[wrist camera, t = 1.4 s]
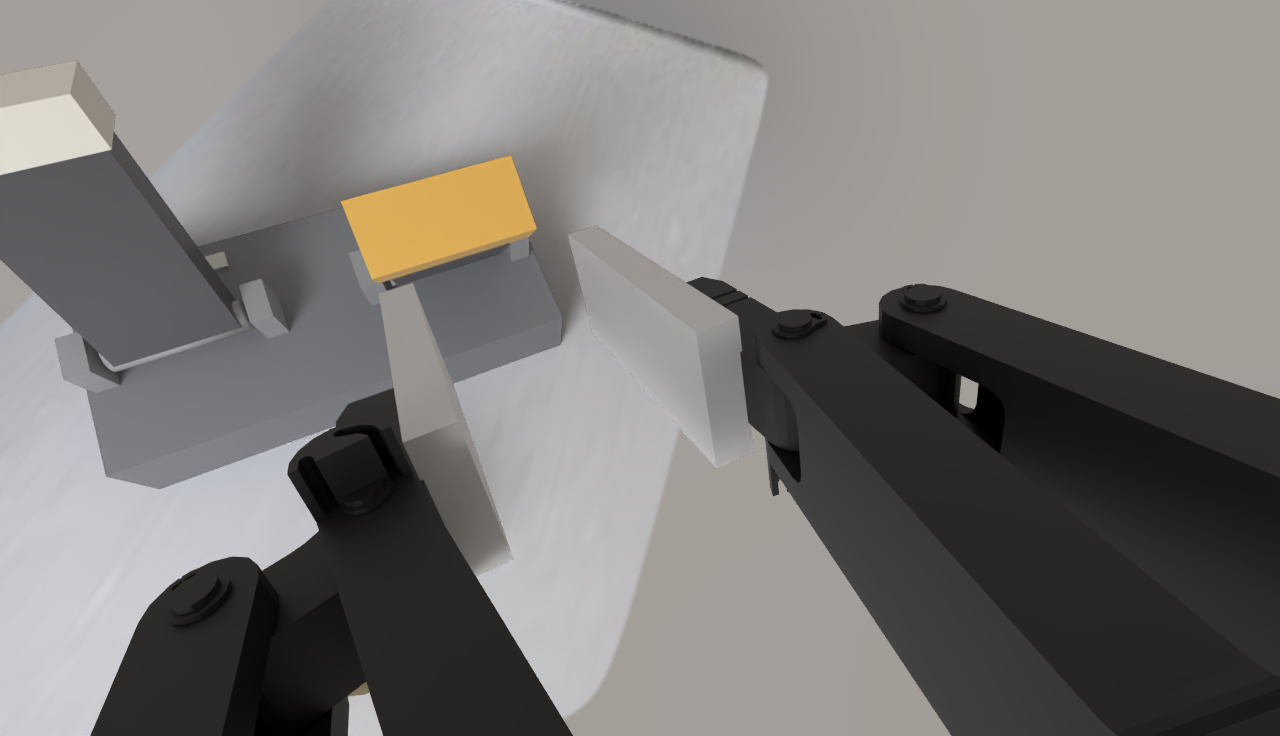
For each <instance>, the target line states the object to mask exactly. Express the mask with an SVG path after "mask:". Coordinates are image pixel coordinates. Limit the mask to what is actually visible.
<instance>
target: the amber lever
mask: <svg viewBox="0 0 1280 736" xmlns="http://www.w3.org/2000/svg"><path fill="white" fill-rule="evenodd" d="M341 203H342V206H343V208H344V211H345V213H346V216H347V218H348V221H349V223H350V226H351V228H352V231H353V233H354V236H355V238H356V241H357V243H358V246H359V248H360V251H361V253H362V256H363V258H364V261H365V263H366V266H367V268H368V271H369V273H370V276H371V279H372V280H374V281H375V282H376V283H381V282H385V281H388V280H390V282H391V284H392V286H394V285H398V286H399V285H403V284H406V283H409V282H412V281H415V280H419V279H422V278H425V277H428V276H431V275H435V274H438V273H441V272H444V271H448V270H451V269H454V268H457V267H460V266H464V265H467V264H470V263H473V262H476V261H480V260H483V259H486V258H489V257H492V256H496V255H499V254H500V252H503V248H504V247H505V245H506V244H508V243H511V242H514V241H518V240H521V239H524V238H527V237H530V236H531V235H532V234H533V233H534V231H535V230H536V229H537V228H536V225H535V222H534V219H533V216H532V214H531V211H530V208H529V205H528V202H527V199H526V196H525V194H524V191H523V188H522V185H521V182H520V179H519V177H518V174H517V171H516V168H515V165H514V162H513V159H512V157H511V155H510V156H506V157H502V158H499V159H495V160H491V161H488V162H484V163H480V164H477V165H473V166H469V167H465V168H462V169H458V170H454V171H451V172H447V173H443V174H440V175H436V176H432V177H428V178H425V179H421V180H417V181H414V182H410V183H406V184H403V185H399V186H395V187H391V188H388V189H384V190H380V191H377V192H373V193H369V194H366V195H362V196H358V197H354V198H351V199H347V200H343V201H341Z"/></svg>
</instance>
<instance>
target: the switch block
mask: <svg viewBox="0 0 1280 736" xmlns="http://www.w3.org/2000/svg"><path fill="white" fill-rule="evenodd" d="M198 249H199V250H200V251H201V253H202V254H203V255H204V257H205V258H206V260H207V261H208V262H209V264H210V265H211V267H212V268H213V269H214V271H215V272H216V273H217V275H218V276H219V278H220V279H221V280H222V282H223V283H224V285H225V286H226V287H227V289H228V290H229V291H230V293H231V294H232V296H233V297H234V298H235V300H241V301H243V303H244V304H245V308H246V311H247V314H248V318H249V321H250V323H251V324H252V325H253V326H254V329H252V330H249V331H246V332H243V333H240V334H236V335H233V336H230V337H227V338H224V339H220V340H217V341H214V342H211V343H207V344H204V345H201V346H198V347H195V348H191V349H188V350H185V351H182V352H179V353H175V354H172V355H169V356H166V357H162V358H159V359H156V360H153V361H150V362H146V363H143V364H140V365H137V366H133V367H130V368H127V369H124V370H121V371H117V372H113V371H111V370H110V369H109V368H107V367H106V365H105V364H104V363H103V361H102V360H101V358H100V356H99V353H98V352H97V351H96V350H95V349H94V348H93V347H92V346H91V345H90V344H89V343H88V342H87V341H86V340H85V339H84V338H83V337H82V336H81V335H80V334H79V333H77V332H76V331H75V330H74V329H73V333H74V334H70V335H67V336H63V337H60V338H56V339H55V342H56V347H57V352H58V356H59V361H60V365H61V370H62V374H63V379H64V380H65V381H68V382H70V383H73V384H75V385H77V386H80V387H82V388H85V389H86V390H87V395H88V399H89V403H90V408H91V412H92V417H93V421H94V425H95V430H96V434H97V439H98V443H99V447H100V452H101V456H102V461H103V465H104V470H105V474H106V477H110V478H114V479H119V480H123V481H127V482H132V483H136V484H140V485H144V486H149V487H153V488H157V489H161V488H164V487H167V486H169V485H172V484H175V483H178V482H180V481H183V480H186V479H189V478H192V477H194V476H197V475H200V474H203V473H205V472H208V471H211V470H214V469H217V468H219V467H222V466H225V465H228V464H230V463H233V462H236V461H239V460H242V459H244V458H247V457H250V456H253V455H255V454H258V453H261V452H264V451H267V450H269V449H272V448H275V447H278V446H280V445H283V444H286V443H289V442H291V441H294V440H297V439H300V438H303V437H305V436H308V435H311V434H314V433H316V432H319V431H322V430H325V429H328V428H330V427H333V426H336V421H337V419H338V418H339V416H340V415H341V414H342V412H343V411H344V409H345V408H346V406H347V405H348V404H349V403H352V402H355V401H358V400H361V399H363V398H366V397H369V396H372V395H375V394H378V393H380V392H383V391H386V390H389V389H392V388H394V386H393V380H392V374H391V368H390V361H389V355H388V349H387V343H386V336H385V330H384V324H383V317H382V311H381V305H380V299H379V293H382V292H385V291H389V290H392V289H395V288H398V287H401V286H405V285H408V284H411V283H413V285H414V287H415V290H416V292H417V295H418V297H419V300H420V302H421V305H422V307H423V310H424V312H425V315H426V317H427V320H428V323H429V325H430V328H431V330H432V333H433V335H434V338H435V340H436V343H437V345H438V348H439V350H440V353H441V355H442V358H443V360H444V363H445V365H446V368H447V370H448V373H449V376H450V378H451V381H452V383H455V382H458V381H461V380H464V379H466V378H469V377H472V376H475V375H477V374H480V373H483V372H486V371H489V370H491V369H494V368H497V367H500V366H502V365H505V364H508V363H511V362H514V361H516V360H519V359H522V358H525V357H527V356H530V355H533V354H536V353H539V352H541V351H544V350H547V349H550V348H552V347H555V346H558V345H560V341H561V330H562V318H563V317H562V315H561V313H560V310H559V308H558V306H557V304H556V301H555V299H554V297H553V294H552V292H551V290H550V288H549V285H548V283H547V281H546V278H545V276H544V274H543V271H542V269H541V267H540V265H539V262H538V260H537V258H536V255H535V253H534V251H533V249H532V246H531V244H530V242H529V237H527V238H524V239H521V240H518V241H514V242H511V243H508V244H506V245H505V247H504V248H503V252H500V254H499V255H496V256H492V257H489V258H486V259H483V260H480V261H476V262H473V263H470V264H467V265H464V266H460V267H457V268H454V269H451V270H448V271H444V272H441V273H438V274H435V275H431V276H428V277H425V278H422V279H419V280H415V281H412V282H409V283H406V284H403V285H399V286H398V285H394V286H392V284H391V282H390V280H388V281H385V282H381V283H376V282H375V281H374V280H372V279H371V276H370V273H369V271H368V268H367V266H366V263H365V261H364V258H363V256H362V253H361V251H360V248H359V246H358V243H357V241H356V238H355V236H354V233H353V231H352V228H351V226H350V223H349V221H348V218H347V216H346V213H345V211H344V208H339V209H335V210H332V211H328V212H324V213H321V214H317V215H313V216H310V217H306V218H302V219H299V220H295V221H291V222H288V223H284V224H280V225H277V226H273V227H269V228H266V229H262V230H258V231H255V232H251V233H247V234H244V235H240V236H236V237H233V238H229V239H225V240H222V241H218V242H214V243H211V244H207V245H203V246H200V247H198Z"/></svg>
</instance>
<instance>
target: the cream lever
mask: <svg viewBox="0 0 1280 736" xmlns="http://www.w3.org/2000/svg"><path fill="white" fill-rule="evenodd" d="M115 115H116V114H115V113H114V112H113V110H112V109H111V108H110V106H109V105H108V103H107V102H106V100H105V99H104V98H103V96H102V95H101V93H100V92H99V90H98V89H97V87H96V86H95V85H94V83H93V82H92V80H91V79H90V78H89V76H88V75H87V73H86V72H85V71H84V69H83V68H82V67H81V65H80V63H79V62H78V61H77V60H76V61H71V62H65V63H60V64H55V65H50V66H45V67H39V68H34V69H29V70H24V71H19V72H13V73H8V74H3V75H0V259H1V260H2V261H3V262H4V263H5V264H6V265H7V266H8V267H9V268H10V269H11V270H12V271H13V272H14V273H15V274H16V275H18V277H20V278H21V279H22V280H23V281H24V282H25V283H26V284H27V285H28V286H29V287H30V288H31V289H32V290H33V291H34V292H35V293H36V294H37V295H38V296H40V297H41V298H42V299H43V300H44V301H45V302H46V303H47V304H48V305H49V306H50V307H51V308H52V309H53V310H54V311H55V312H56V313H57V314H58V315H60V316H61V317H62V318H63V319H64V320H65V321H66V322H67V323H68V324H69V325H70V326H71V327H72V328H73V329H74V330H75V331H76V332H77V333H79V334H80V335H81V336H82V337H83V338H84V339H85V340H86V341H87V342H88V343H89V344H90V345H91V346H92V347H93V348H94V349H95V350H96V351H97V352H98V353H99V356H100V358H101V360H102V361H103V363H104V364H105V365H106V367H107V368H109V369H110V370H111V371H113V372H117V371H121V370H124V369H127V368H130V367H133V366H137V365H140V364H143V363H146V362H150V361H153V360H156V359H159V358H162V357H166V356H169V355H172V354H175V353H179V352H182V351H185V350H188V349H191V348H195V347H198V346H201V345H204V344H207V343H211V342H214V341H217V340H220V339H224V338H227V337H230V336H233V335H236V334H240V333H243V332H246V331H249V330H252V329H254V326H253V325H252V324H251V323H250V321H249V318H248V314H247V311H246V308H245V304H244V303H243V301H241V300H235V298H234V297H233V296H232V294H231V293H230V291H229V290H228V289H227V287H226V286H225V285H224V283H223V282H222V280H221V279H220V278H219V276H218V275H217V273H216V272H215V271H214V269H213V268H212V267H211V265H210V264H209V262H208V261H207V260H206V258H205V257H204V255H203V254H202V253H201V251H200V250H199V249H198V247H197V246H196V244H195V243H194V242H193V240H192V239H191V238H190V236H189V235H188V233H187V232H186V231H185V229H184V228H183V226H182V225H181V224H180V222H179V221H178V220H177V218H176V217H175V215H174V214H173V213H172V211H171V210H170V208H169V207H168V206H167V204H166V203H165V202H164V200H163V199H162V197H161V196H160V195H159V193H158V192H157V191H156V189H155V188H154V186H153V185H152V184H151V182H150V181H149V179H148V178H147V177H146V176H145V174H144V173H143V171H142V170H141V168H140V167H139V166H138V164H137V163H136V162H135V160H134V159H133V158H132V156H131V155H130V153H129V152H128V150H127V149H126V148H125V146H124V145H123V144H122V142H121V141H120V139H119V138H118V137H117V135H116V134H115V132H114V124H115Z"/></svg>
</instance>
